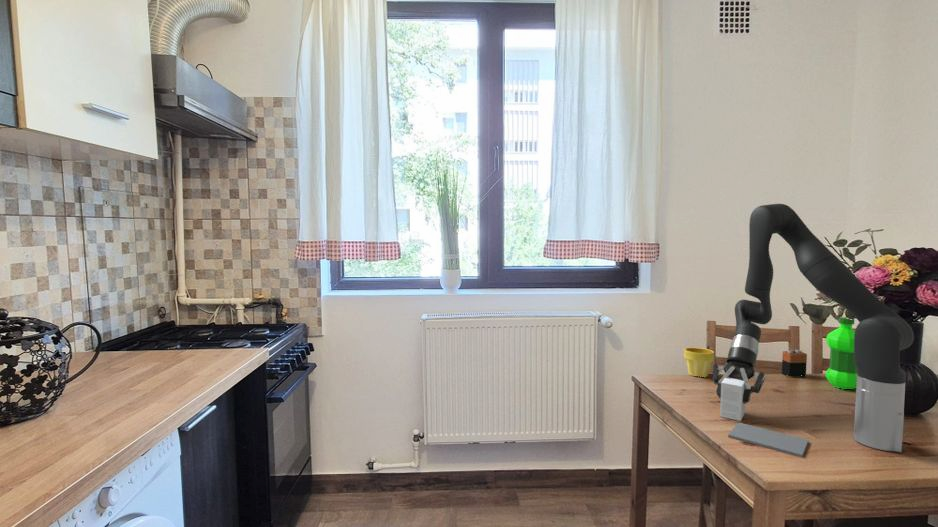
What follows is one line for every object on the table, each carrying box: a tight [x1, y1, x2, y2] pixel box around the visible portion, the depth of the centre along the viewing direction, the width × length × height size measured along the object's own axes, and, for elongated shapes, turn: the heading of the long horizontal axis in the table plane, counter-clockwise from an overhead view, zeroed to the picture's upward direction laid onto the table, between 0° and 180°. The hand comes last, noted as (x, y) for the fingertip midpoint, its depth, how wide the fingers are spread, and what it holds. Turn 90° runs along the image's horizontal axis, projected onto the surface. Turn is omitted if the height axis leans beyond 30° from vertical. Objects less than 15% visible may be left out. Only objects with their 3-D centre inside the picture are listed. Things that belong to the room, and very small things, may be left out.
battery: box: [781, 349, 808, 377], centre depth 172 cm, size 4×7×10 cm, turn 93°
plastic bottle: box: [825, 316, 857, 390], centre depth 158 cm, size 10×10×25 cm
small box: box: [719, 377, 746, 422], centre depth 134 cm, size 8×6×10 cm
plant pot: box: [683, 346, 715, 378], centre depth 173 cm, size 10×10×10 cm
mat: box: [727, 422, 809, 458], centre depth 118 cm, size 16×11×1 cm
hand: (731, 399), depth 133 cm, fingers closed on small box, 6 cm apart
